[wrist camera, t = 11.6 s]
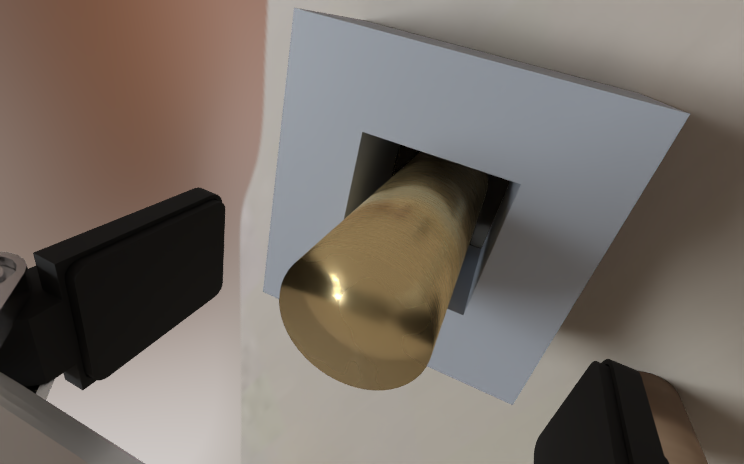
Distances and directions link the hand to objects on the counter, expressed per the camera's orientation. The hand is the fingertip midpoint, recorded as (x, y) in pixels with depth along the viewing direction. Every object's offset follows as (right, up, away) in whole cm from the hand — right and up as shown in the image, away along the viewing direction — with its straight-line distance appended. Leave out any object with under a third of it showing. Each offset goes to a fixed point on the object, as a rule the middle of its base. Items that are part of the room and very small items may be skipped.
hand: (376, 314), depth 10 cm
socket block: (+4, +4, +10) cm, 12 cm away
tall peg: (+4, +4, +10) cm, 12 cm away
